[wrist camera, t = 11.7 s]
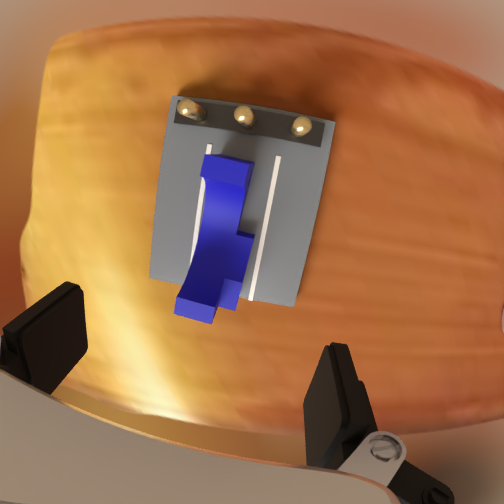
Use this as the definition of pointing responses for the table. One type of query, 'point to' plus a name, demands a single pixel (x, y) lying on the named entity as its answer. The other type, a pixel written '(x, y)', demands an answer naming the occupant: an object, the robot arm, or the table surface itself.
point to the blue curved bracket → (218, 241)
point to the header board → (255, 208)
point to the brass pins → (249, 121)
